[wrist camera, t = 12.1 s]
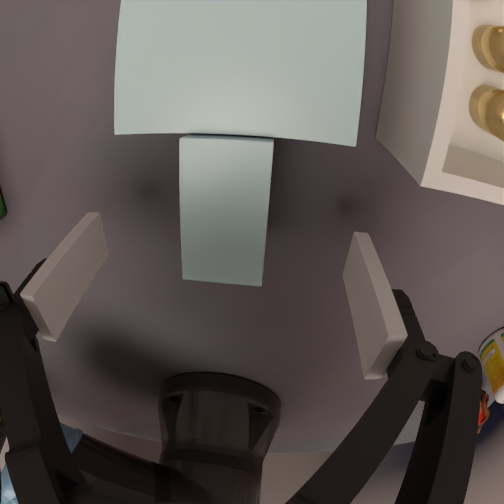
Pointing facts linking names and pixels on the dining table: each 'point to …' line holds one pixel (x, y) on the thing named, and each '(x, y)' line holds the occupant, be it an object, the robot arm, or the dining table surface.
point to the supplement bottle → (494, 362)
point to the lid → (236, 106)
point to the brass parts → (485, 96)
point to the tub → (441, 97)
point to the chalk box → (2, 209)
